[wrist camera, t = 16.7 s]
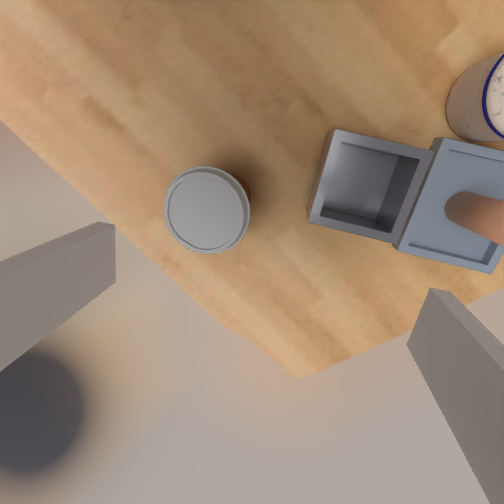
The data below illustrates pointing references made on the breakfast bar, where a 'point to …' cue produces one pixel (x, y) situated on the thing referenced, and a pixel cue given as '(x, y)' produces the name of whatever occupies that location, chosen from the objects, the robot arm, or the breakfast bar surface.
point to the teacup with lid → (479, 101)
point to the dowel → (477, 214)
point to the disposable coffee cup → (207, 209)
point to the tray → (437, 194)
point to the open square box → (366, 185)
